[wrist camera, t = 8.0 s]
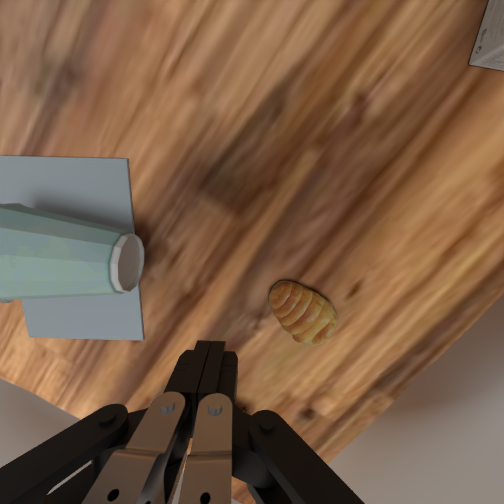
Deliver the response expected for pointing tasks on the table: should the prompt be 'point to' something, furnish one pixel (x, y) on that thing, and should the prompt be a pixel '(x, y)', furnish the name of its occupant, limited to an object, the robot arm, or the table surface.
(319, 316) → the pastry
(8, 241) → the disposable coffee cup
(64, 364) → the table surface
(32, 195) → the mat
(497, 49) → the supplement box
